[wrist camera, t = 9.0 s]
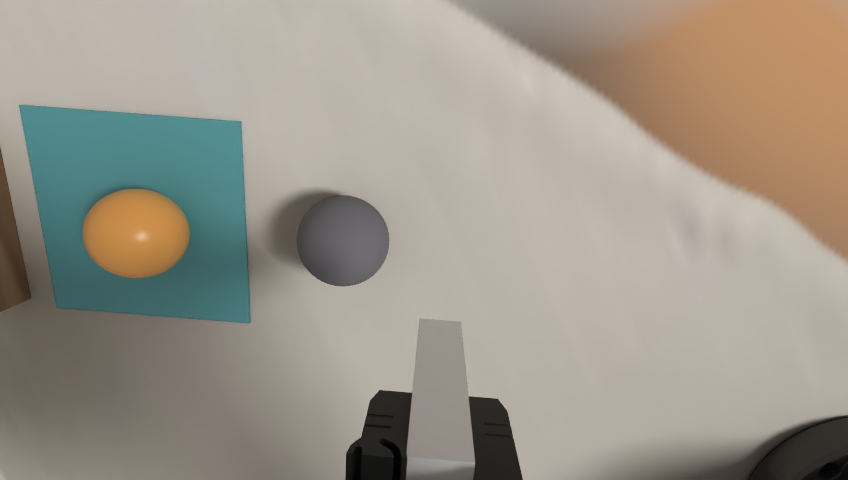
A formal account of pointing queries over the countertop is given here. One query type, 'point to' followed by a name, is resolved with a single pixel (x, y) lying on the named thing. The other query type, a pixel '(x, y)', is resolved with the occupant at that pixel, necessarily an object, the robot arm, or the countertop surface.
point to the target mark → (152, 170)
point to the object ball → (136, 233)
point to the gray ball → (343, 240)
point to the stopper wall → (10, 252)
